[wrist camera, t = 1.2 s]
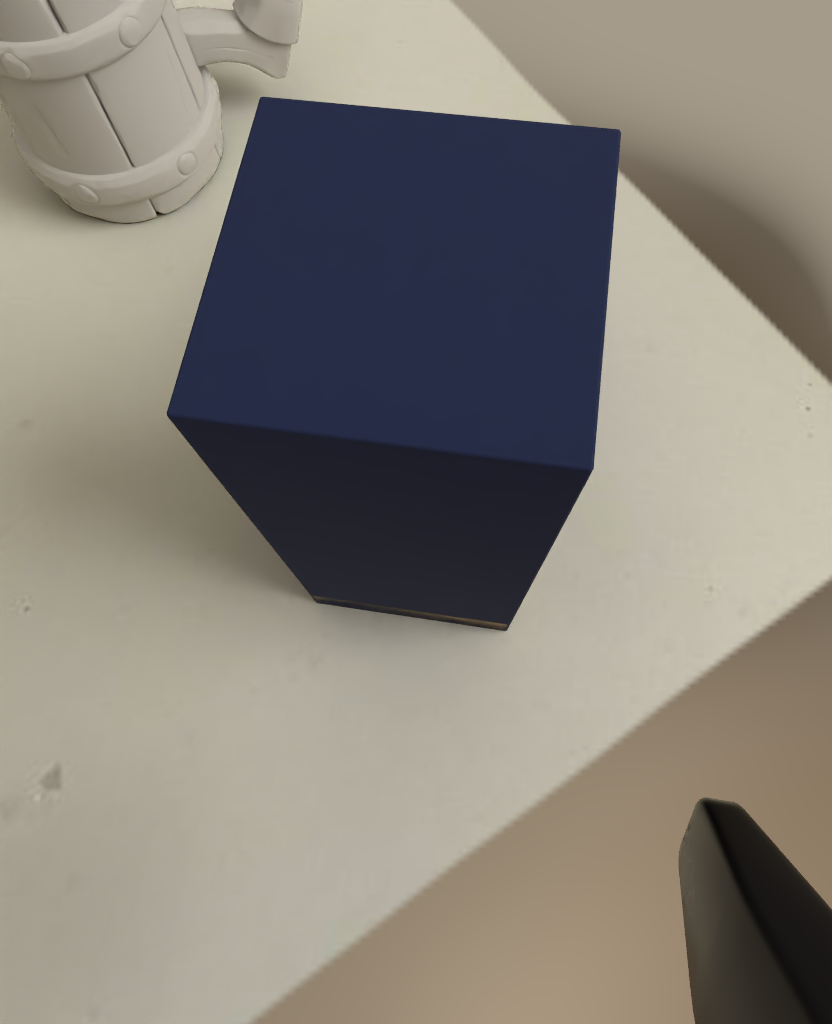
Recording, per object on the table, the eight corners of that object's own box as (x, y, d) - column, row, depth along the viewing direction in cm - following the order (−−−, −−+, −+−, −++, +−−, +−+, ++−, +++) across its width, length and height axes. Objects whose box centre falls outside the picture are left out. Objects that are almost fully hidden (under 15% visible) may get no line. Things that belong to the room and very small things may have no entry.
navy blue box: (507, 631, 22) (593, 470, 10) (316, 602, 22) (164, 415, 10) (547, 278, 26) (644, -151, 14) (385, 260, 26) (338, -170, 14)
